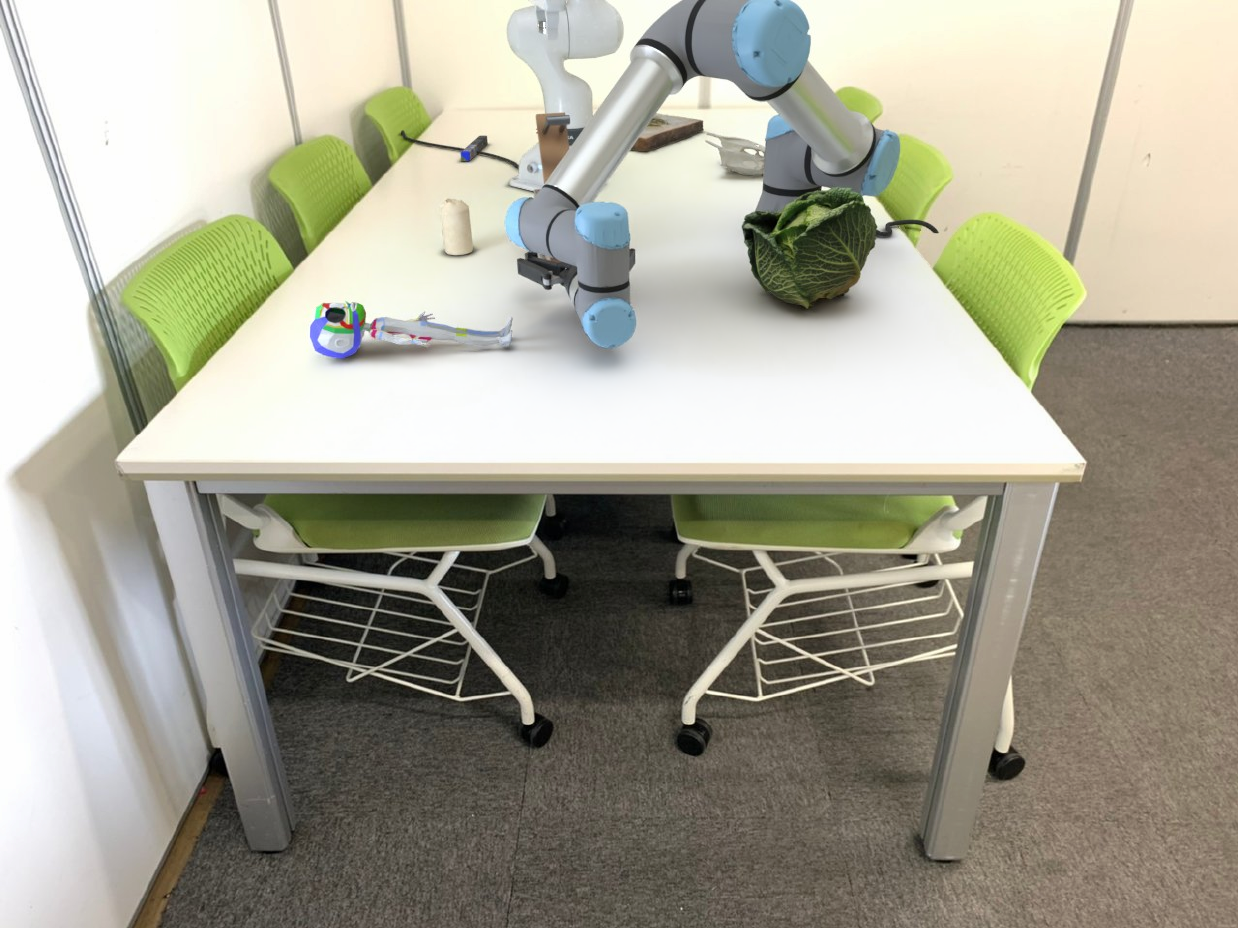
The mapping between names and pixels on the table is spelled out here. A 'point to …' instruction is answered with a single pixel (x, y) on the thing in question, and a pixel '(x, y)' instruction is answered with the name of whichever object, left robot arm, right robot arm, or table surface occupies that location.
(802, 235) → the vegetable
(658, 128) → the plaque
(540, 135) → the lid
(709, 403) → the table surface
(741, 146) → the anatomical model
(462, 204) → the candle
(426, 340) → the toy
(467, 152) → the grey square bar
